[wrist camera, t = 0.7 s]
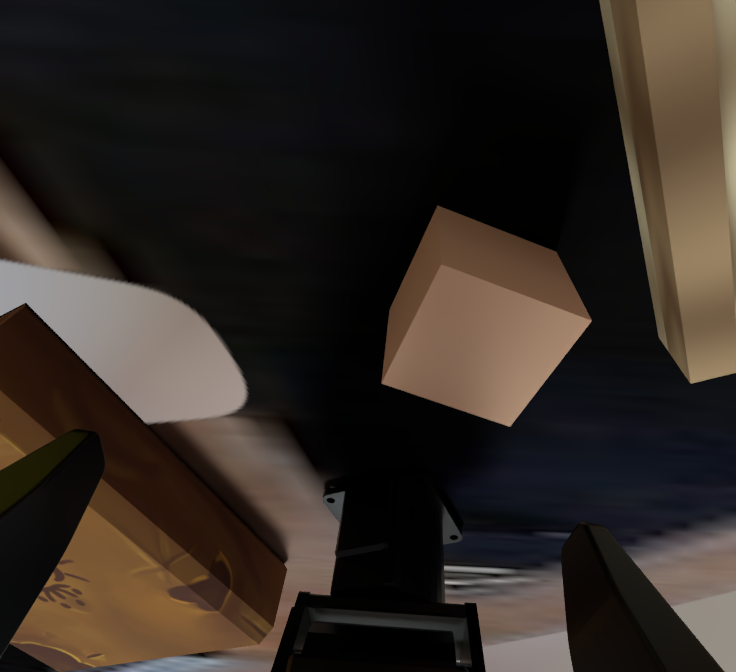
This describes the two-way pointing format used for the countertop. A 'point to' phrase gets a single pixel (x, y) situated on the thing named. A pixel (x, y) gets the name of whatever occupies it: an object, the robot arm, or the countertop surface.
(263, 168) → the countertop surface
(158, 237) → the countertop surface
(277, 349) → the countertop surface
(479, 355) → the cube
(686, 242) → the arena
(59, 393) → the diary
